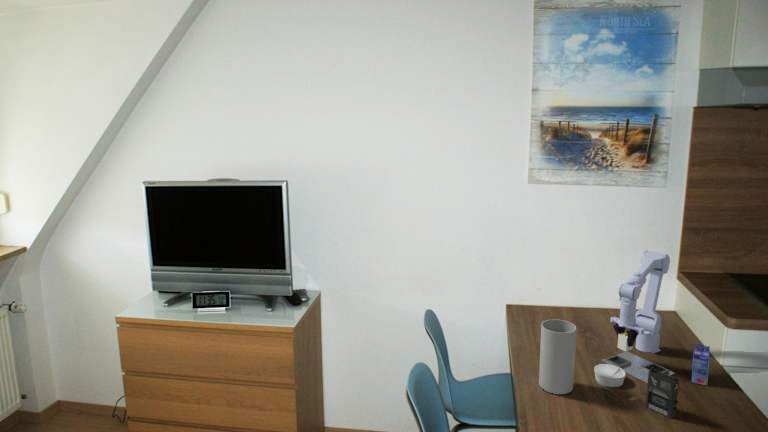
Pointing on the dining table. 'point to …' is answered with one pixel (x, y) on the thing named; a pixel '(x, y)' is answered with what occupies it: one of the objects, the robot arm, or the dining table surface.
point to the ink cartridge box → (700, 364)
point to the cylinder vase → (557, 356)
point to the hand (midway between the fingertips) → (625, 344)
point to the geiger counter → (662, 393)
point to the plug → (623, 342)
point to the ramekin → (609, 375)
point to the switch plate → (635, 365)
